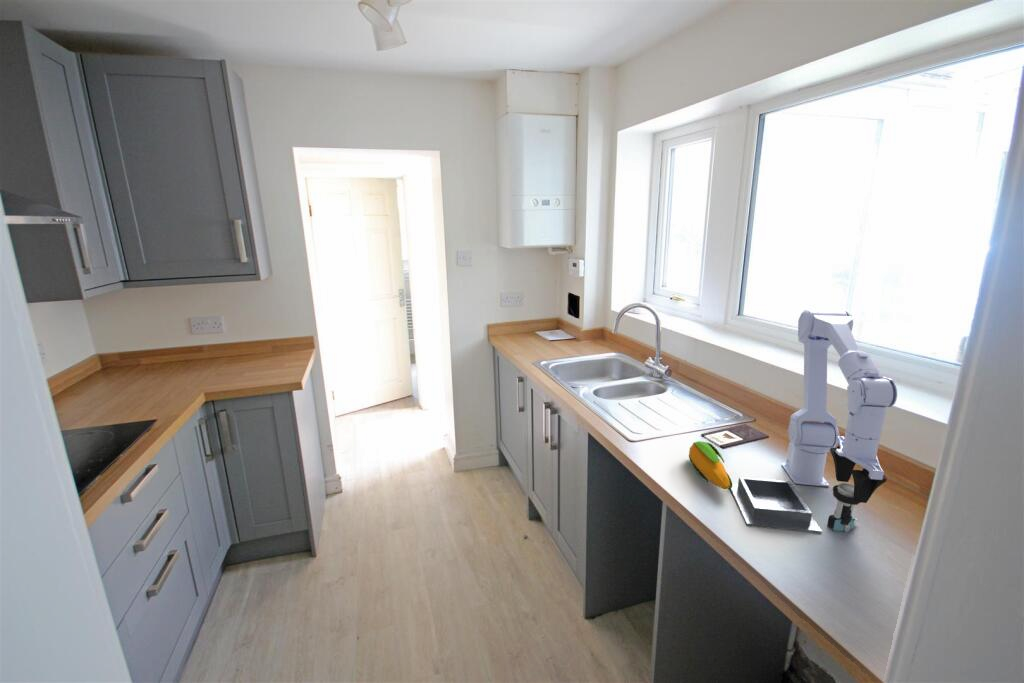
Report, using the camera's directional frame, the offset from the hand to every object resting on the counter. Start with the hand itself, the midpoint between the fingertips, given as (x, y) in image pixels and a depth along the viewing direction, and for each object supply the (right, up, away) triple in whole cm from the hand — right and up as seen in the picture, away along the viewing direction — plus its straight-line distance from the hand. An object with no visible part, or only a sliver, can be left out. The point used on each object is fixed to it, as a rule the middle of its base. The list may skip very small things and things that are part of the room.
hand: (850, 490), depth 98 cm
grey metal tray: (-12, -7, +10) cm, 17 cm away
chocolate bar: (-4, +2, +44) cm, 44 cm away
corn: (-20, -4, +23) cm, 31 cm away
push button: (0, -9, +3) cm, 9 cm away
